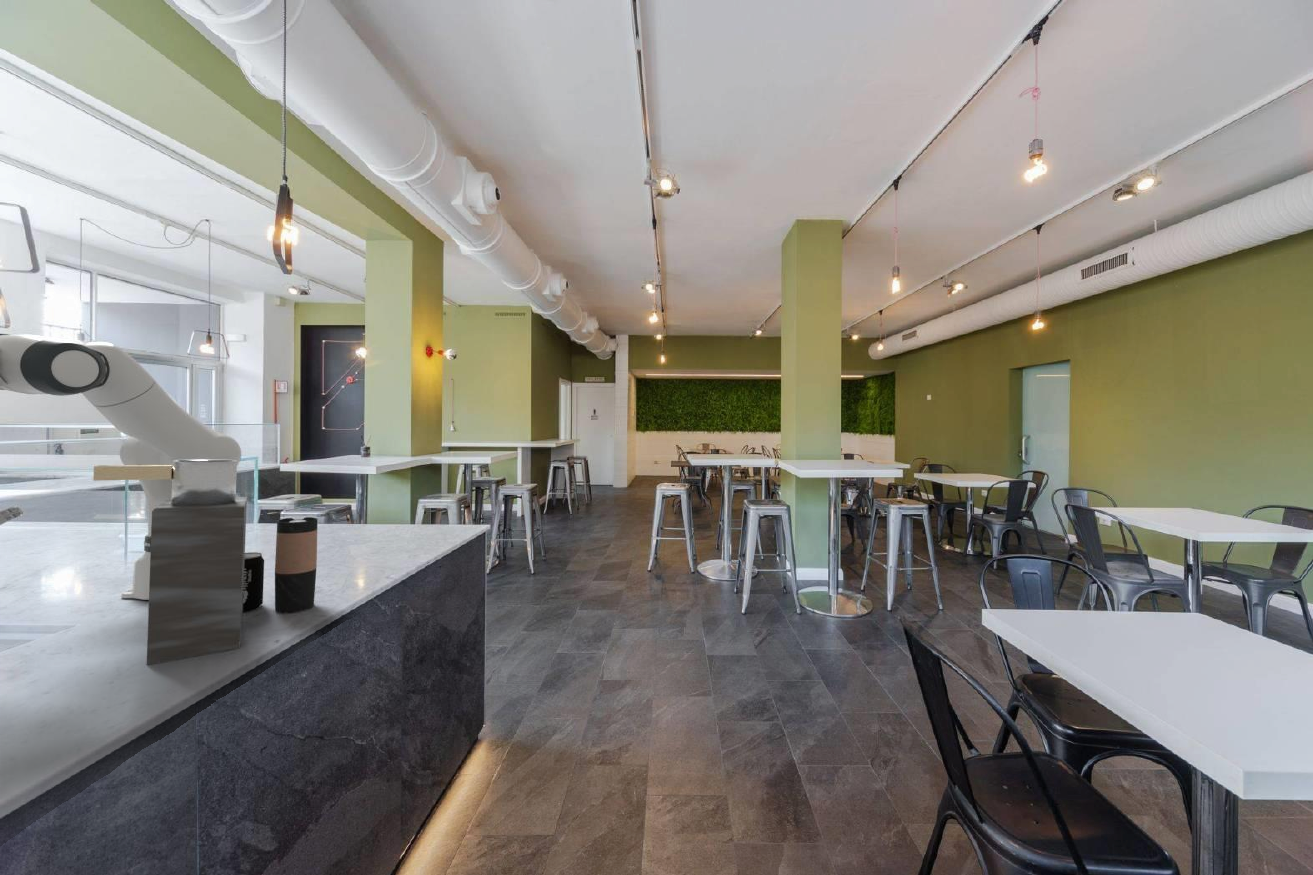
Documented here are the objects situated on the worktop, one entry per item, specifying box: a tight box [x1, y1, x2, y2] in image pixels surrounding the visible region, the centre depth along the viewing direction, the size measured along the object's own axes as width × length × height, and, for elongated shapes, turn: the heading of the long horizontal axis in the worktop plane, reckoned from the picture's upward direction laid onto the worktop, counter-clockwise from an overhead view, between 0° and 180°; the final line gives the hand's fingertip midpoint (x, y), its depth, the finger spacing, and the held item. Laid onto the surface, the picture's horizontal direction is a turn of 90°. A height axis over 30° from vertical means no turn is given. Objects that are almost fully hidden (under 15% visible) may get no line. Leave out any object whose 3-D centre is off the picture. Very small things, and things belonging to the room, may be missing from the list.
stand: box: [146, 496, 248, 666], centre depth 94 cm, size 16×12×26 cm
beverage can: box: [243, 551, 265, 613], centre depth 111 cm, size 7×7×12 cm
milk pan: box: [92, 459, 238, 507], centre depth 91 cm, size 9×18×8 cm, turn 128°
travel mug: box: [274, 516, 318, 614], centre depth 113 cm, size 8×8×20 cm
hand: (8, 513), depth 79 cm, fingers open, 8 cm apart
